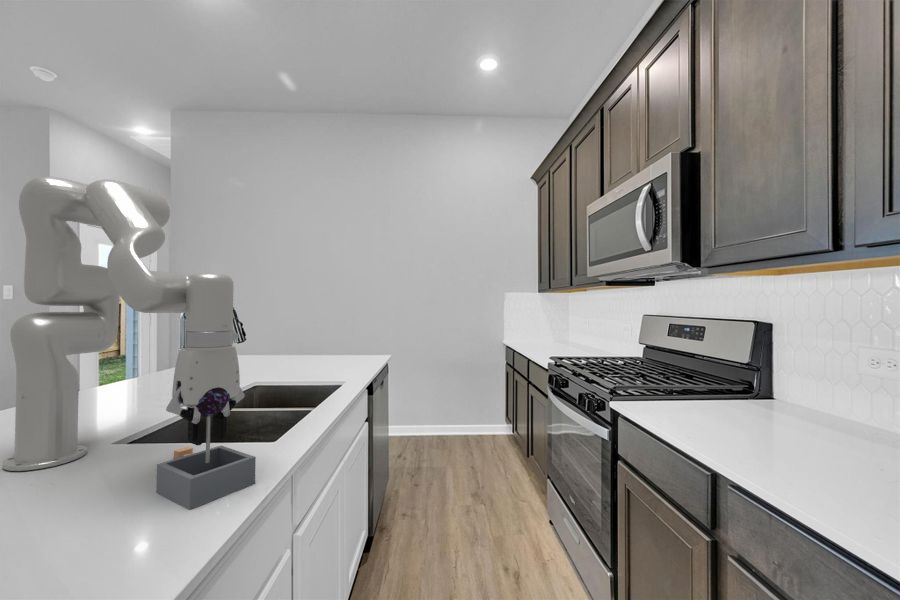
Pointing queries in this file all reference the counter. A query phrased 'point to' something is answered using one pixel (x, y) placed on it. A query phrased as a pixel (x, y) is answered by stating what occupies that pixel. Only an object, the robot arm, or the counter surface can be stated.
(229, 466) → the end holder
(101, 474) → the counter surface
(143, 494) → the counter surface
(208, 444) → the lollipop
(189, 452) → the cable run
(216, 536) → the counter surface
